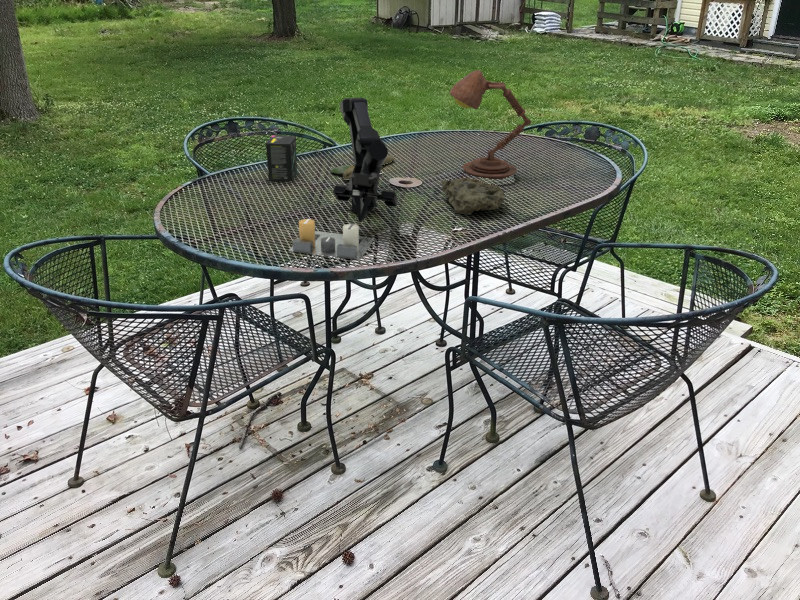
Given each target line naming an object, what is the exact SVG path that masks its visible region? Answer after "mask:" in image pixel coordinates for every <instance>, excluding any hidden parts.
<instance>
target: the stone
mask: <svg viewBox="0 0 800 600" xmlns="http://www.w3.org/2000/svg"><path fill="white" fill-rule="evenodd" d="M440 183H441V191H442V193H444V195H445V196H446V197H447V198H448V203H449V205H451V206H452V207H453V209H454V211H455V212H456V213H457V214H459V213H460V214H469V215H471V214H473V212H479V211H482V212H483V210H489V211H491V210H492V211H493V210H497V209H498V208H499V207H501V205H502V203H504V201H505V200H506V199H505V198H506V197H505V192H504V191H503V190H502V189H501V187H500V186H497V185H495V184H494V185H492V184H491V185H490V184H485V183H483V182H481V181H479V180H477V179H470V178H463V177H462V178H455V179H451V180H447V179H446V180H444V179H443V180H441V182H440ZM470 213H471V214H470ZM460 214H459V215H460Z"/></svg>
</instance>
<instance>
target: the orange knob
mask: <svg viewBox="0 0 800 600" xmlns="http://www.w3.org/2000/svg"><path fill="white" fill-rule="evenodd" d="M315 223H316V222H315V220H314V219H311V218H304V219H300V220H299V221H298V230H299V231H298V233H299V234H298V235H299V239H301V240H309V241H313V247H314V246H315V231H316V226H315V225H316V224H315Z"/></svg>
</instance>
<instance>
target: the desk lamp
mask: <svg viewBox="0 0 800 600" xmlns="http://www.w3.org/2000/svg"><path fill="white" fill-rule="evenodd" d="M486 79H487V78H486V77H485V76H484V75H483V72H482V70H479V69H476V70H473V71H471V72H469V73H468V74H467V75H465V76H464V77H462V79H460V80H458V81H457V82H455V84H454V85H453V86H452V87H451V89H450V91H449V95H450V96H451V97H453V99H454V101H455V103H456V104H457V106H459V107H461V108H463V109H471V108H472V109H474V110H477V109H478V108H479V107H480V106H481V103H482V100H483V95H484V94H485V93H486V91H488V90H502V91H503V92H502V96H503V97H504V98H505V99H506V101H507V102H508V103H509V104H510V106H511V108H512V109H513V111H514V112H515V113H516V116H517V117H521V118H522V119H523V123H522V124H520V123H519V124H517V125H516V126H515V128H513V129H512V130H511V131H509V133H507V134H506V135H505V136H504V137H503V138H501V139H500V141H498V142H496V145H495V147H494V148H493V149H489V150H488V152H487V156H484V157H480V158H475V159H473V160H472V161H468V162H466V163H464V164H463V165H462V169H463V171H465V172H466V173H467V174H469V175H472V176H477V177H481V178H482V177H483V178H489V179H503V178H506V177H509V176H511V175H513V174H515V175H516V173H517V171H518V169H517V167H516V166H514V165H512V164H509V163H508V162H507V161H506V160H502V159H500V158H498V157H495V154H496V152H497V151H498V150H504V148H505V147H506V146H507V145H509V143H511V142H512V141H513V140H514V139H515V138H517V137H518V136H519V135H520V134H521V133H523V132H524V131H525V129H524V128H525V127H526V126H527V127H528V126H530V125H531V124H532V120H531V119H530V118H528V117H527V115H526V109H525V108H523V106H522V105H521V104H520V103H519V100H518V98H517V97H516V96H515V95H514V93H512V92H513V91H512V90H511V88H508V89H507V85H506V84H505V83H504V82H503V81H491V80H486Z"/></svg>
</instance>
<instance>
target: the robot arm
mask: <svg viewBox="0 0 800 600" xmlns="http://www.w3.org/2000/svg"><path fill="white" fill-rule="evenodd" d="M368 104H369V103H368V100H367V98H364V97H345V98H343V100H341V101H340V102H339V109H340V113H342V119H343V121H344V122H345V124H347V125H348V127H349V133H350V134H349V135H350V142H351V149H352V157H353V164H354V165H355V167H354V169H353V172H352V175H351V178H350V180H349V182H348V185H347V184H346V185H345V184H336V185H334V187H333V188H332V189H333V190H332V194H333V195H334V197H335V199H336V200H337V201H340V202H348V201H350V200H351V207H350V208H348V209H349V211H350V212H353V213H356V214H357V222H358V223H362V222H364V220H365V219H366V217H367V216H368V215H369V214H370V213H373V212H375V211H374V209H375V210H376V208H378V206H379V205H378V203H379V201H383V202H384V204H385V205H386V207H392V208H393V207H394V208H396V207H397V206H398V202H399V201H398V195H397V193H396V191H395V190H390V189H382V190H381V193H379V192H378V186H380V185H379V184H380V182H379V180H380V176H381V171H382V168H383V166H382V165H383V164H384V161H385V159H386V157H387V156H388V154H389V150H388V147H387V145H386V144H385V143H384V142H383V139H382V138H381V137H380V134H379V132H378V131H377V130H376V129H374V128H373V125H372V122H371V118H370V114H369V105H368ZM372 211H373V212H372ZM376 211H377V210H376Z"/></svg>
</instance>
